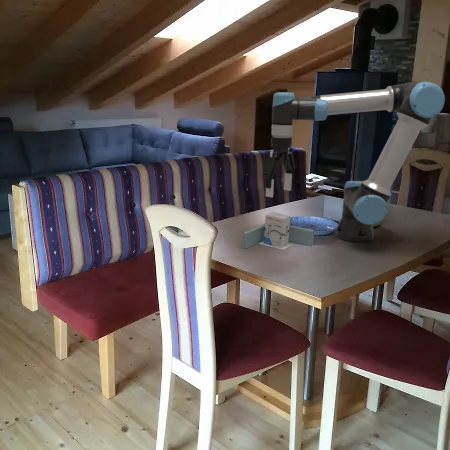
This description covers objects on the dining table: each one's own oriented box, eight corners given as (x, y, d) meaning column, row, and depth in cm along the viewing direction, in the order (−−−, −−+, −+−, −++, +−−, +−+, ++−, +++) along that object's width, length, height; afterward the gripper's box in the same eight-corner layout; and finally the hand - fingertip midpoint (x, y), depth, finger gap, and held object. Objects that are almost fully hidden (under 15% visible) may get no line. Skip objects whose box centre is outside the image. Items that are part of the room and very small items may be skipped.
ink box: (263, 243, 196) (264, 214, 193) (270, 240, 200) (271, 211, 196) (282, 248, 191) (283, 218, 188) (288, 244, 195) (290, 215, 191)
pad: (292, 245, 195) (292, 244, 195) (283, 250, 190) (283, 249, 190) (268, 239, 201) (268, 239, 201) (258, 244, 196) (258, 243, 196)
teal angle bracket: (313, 245, 196) (314, 230, 194) (288, 259, 180) (289, 243, 179) (269, 235, 207) (270, 221, 205) (242, 247, 191) (243, 232, 189)
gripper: (289, 132, 195) (286, 186, 201) (254, 138, 175) (252, 198, 182) (306, 134, 191) (303, 189, 197) (273, 140, 171) (270, 201, 178)
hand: (278, 193), depth 189 cm, fingers open, 13 cm apart
